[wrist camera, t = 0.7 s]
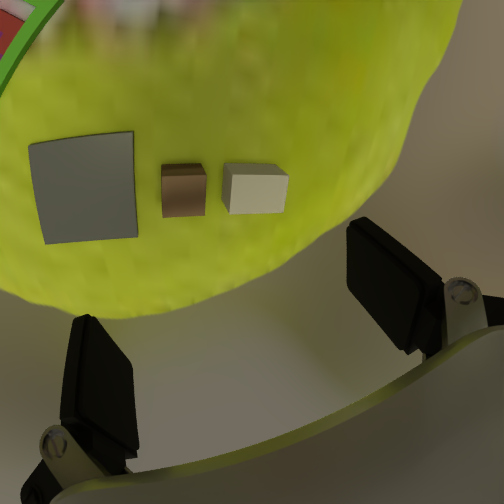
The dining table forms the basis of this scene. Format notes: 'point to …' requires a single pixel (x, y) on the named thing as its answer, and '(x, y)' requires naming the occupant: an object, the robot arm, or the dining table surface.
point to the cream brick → (254, 188)
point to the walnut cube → (183, 190)
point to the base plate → (85, 187)
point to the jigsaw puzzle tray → (21, 35)
